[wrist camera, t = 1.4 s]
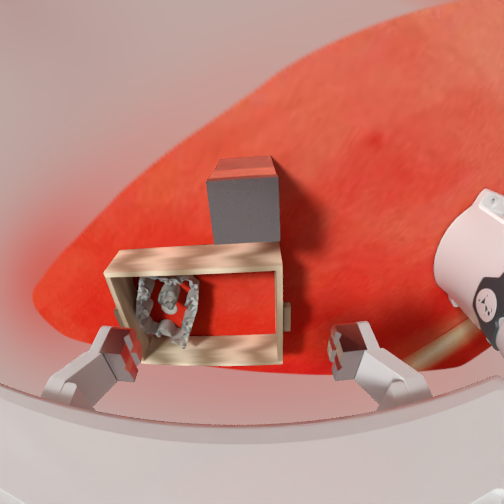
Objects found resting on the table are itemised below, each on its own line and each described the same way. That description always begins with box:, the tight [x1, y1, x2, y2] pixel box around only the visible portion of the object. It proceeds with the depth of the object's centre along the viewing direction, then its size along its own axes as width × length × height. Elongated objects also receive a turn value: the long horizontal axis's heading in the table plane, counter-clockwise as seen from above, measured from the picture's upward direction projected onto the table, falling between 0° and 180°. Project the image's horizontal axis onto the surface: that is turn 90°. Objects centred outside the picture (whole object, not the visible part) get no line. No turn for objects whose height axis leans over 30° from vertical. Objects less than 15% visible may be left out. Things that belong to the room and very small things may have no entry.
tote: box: [104, 241, 291, 366], centre depth 35 cm, size 21×15×5 cm
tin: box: [206, 156, 280, 245], centre depth 26 cm, size 5×5×8 cm
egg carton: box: [135, 275, 199, 349], centre depth 36 cm, size 11×8×4 cm
